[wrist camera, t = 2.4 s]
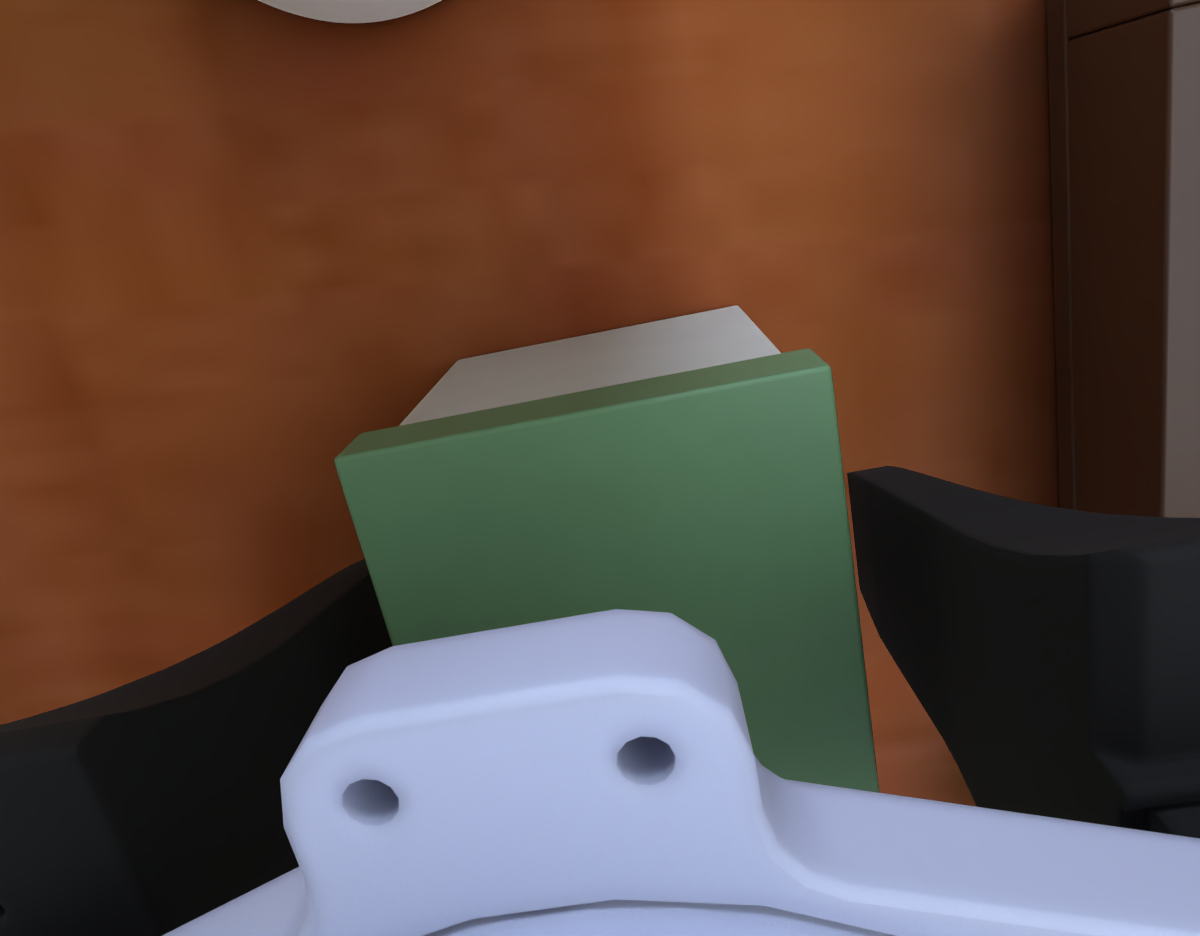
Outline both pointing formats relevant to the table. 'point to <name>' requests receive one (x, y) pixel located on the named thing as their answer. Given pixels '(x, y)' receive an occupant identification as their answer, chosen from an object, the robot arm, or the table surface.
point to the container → (637, 514)
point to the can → (351, 9)
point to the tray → (1126, 253)
